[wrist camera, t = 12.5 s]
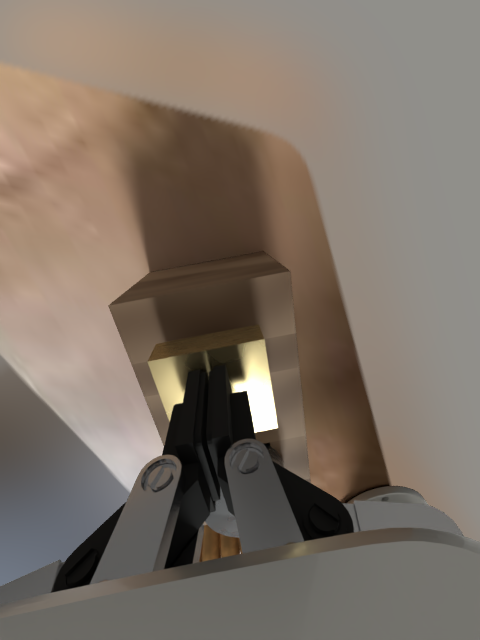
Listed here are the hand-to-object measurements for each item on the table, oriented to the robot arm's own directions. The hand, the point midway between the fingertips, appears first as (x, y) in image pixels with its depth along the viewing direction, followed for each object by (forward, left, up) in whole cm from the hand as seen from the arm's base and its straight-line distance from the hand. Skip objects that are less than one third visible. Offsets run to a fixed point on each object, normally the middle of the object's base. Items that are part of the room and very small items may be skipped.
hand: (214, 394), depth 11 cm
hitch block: (-5, 0, -11) cm, 12 cm away
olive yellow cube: (0, 0, -5) cm, 5 cm away
